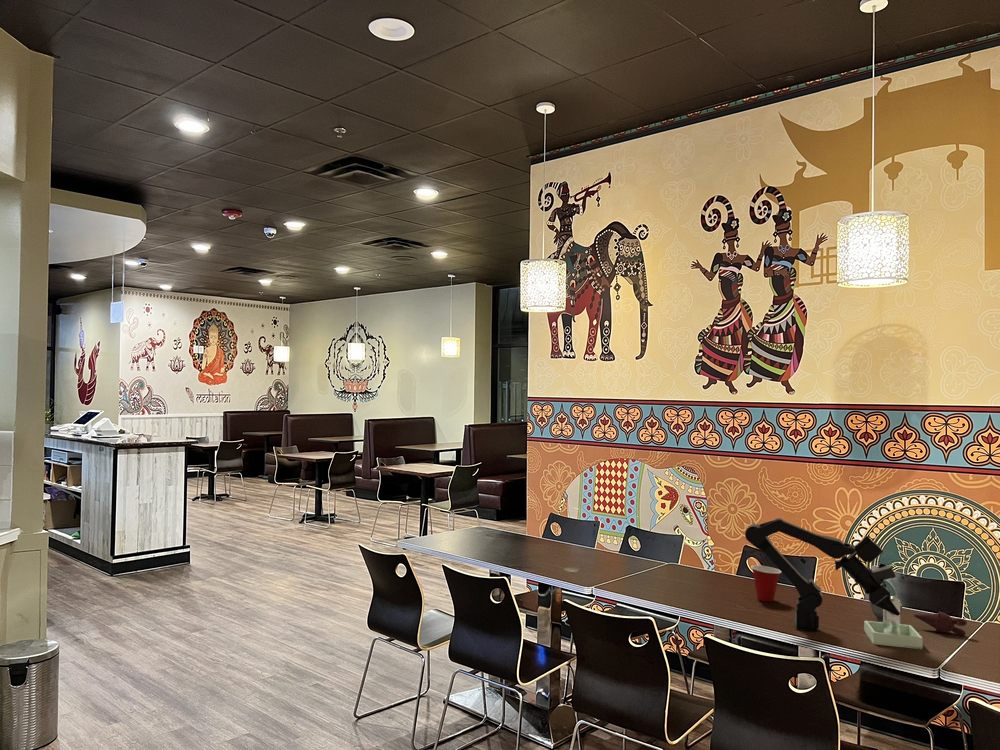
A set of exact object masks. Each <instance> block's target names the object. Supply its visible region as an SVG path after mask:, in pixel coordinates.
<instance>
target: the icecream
mask: <svg viewBox="0 0 1000 750" xmlns="http://www.w3.org/2000/svg"><path fill="white" fill-rule="evenodd" d="M913 617H915V618H917V619H918V620H919V621H921V622H924V623H925V624H926V625H928V626H930V627H932V628H934V629H935V632H936V633H937V632H940V633H943V634H944V633H949V632H952V633H954V634H956V635H958V636H961V637H963V636H966V631H965V630H964V629H962V628H960V627H963V626H966V625H967V621H966V619H964V618H953V617H952V616H950V615H949V614H947V613H945V612H942V611H938V612H937V613H935V612H934V613H918V614H914V616H913ZM955 625H956V626H958V627H956V626H955ZM959 626H960V627H959Z"/></svg>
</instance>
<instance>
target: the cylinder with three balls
mask: <svg viewBox="0 0 1000 750" xmlns="http://www.w3.org/2000/svg"><path fill="white" fill-rule="evenodd" d="M890 600H891V601H892V603H893V604H894V605H895V607H896V608H897V610H898V611H899V613H900V603H901V600H900V599H899V598H897V596H895V595H892V596H891V595H890ZM900 624H901V616H900V615H899V616H897V615H895V614H892V613H890V612H888V611H886V610H884V609H883V633H888V634H898V635H901V631H900Z"/></svg>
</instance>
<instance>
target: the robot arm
mask: <svg viewBox="0 0 1000 750" xmlns="http://www.w3.org/2000/svg"><path fill="white" fill-rule="evenodd" d="M778 532H779V533H781V534H782V533H783V534H785V535H787V536H790V537H792V538H794V539H796V540H799V541H801V542H803V543H806V544H809V545H811V546H814V548H816V549H818V550H819V551H821V552H822V553H824V554H825V555H827V556H829V557H831V558H832V559H837V560H834V564H835V566H834V569H835V570H836V571H838V570H839V569H840V568H842V569H843V570H844V571H845V572H846V573H847V574H848V575H849V576H850V577H851V579H852V580H854V582H855V584H856V585H859V587H860V588H862V590H863V591H864V592H865V594H866V595H867V599H868V601H869V602H870V604H871V603H872V604H873V605H875V606H878V607H880V608H882V609H884V610H886V611H888V612H890V613H892V614H895V615H897V616H899V615H900V613H899V611H898V610H897V608H896V607H895V605H894V604H893V603H892V601H891V600H890V597H891V592H890V590H889V589H888V588H887V583H886V582H885V580H889V579H894V578H896V577H897V576H896V573H895V571H894V570H893V569H894V568H893V567H892V566H891V565H890V564H885V563H884V562H881V563H878V564H877V565H878V568H875V569H873V570H872V568H870V567H867V566H866V565H865V564H864V563H868V562H869V563H870V564H871V563H872V562H873V561H875V560H876V559H877V558H878V557H880V556H881V555H882V554H883V553H884V549H882V548H881V547H880V546H879V545H878V544H877V542H876V541H873V539H872V538H870V537H869V536H868V535H865V536H864V537H863V538H861V540H860V541H859V542H857V543H856V544H855V545H854V544H851V543H846V542H843V541H842V540H841V539H840V538H837V537H834V536H833V537H832V536H829V535H824V534H823V535H821V534H818V533H816V532H813V531H810V530H808V529H805V528H803V527H800V526H798V525H796V524H793V523H791V522H789V521H786V520H784V519H783V518H780V517H778V518H777V517H776V518H775V519H773V520H769V521H767V522H764V523H760V524H757V523H752V524H750V525H748V526H747V527H746V529H745V532H744V535H745V539H746V540H747V542H748V543H750V544H751V545H753V546H754V547H755V549H758V550H760V551H761V552H763V553H764V554H765V555H766V557H768V559H769V560H770V561H771V562H772V563H773V564H774V565H775V566H776V567H777V569H778V570H780V571H781V574H783V575H784V576H785V577H786V579H787V580H789V581H790V583H792V585H794V587H795V589H796V591H797V592H798V595H799V597H797V598H796V606H795V616H794V619H795V620H794V621H795V622H794V626H795V629H796V630H798V631H799V630H800V631H806V632H807V631H809V632H819V628H820V627H819V625H820V616H819V614H818V610H817V608H818V607H821V605H822V604H823V593H822V591H821V586H819V585H818V584H817V583H816V582H815V581H814V579H813V578H811V577H810V579H809V580H808V579H806V578H805V577H804V576H802V575H801V573H800V572H799V571H798V570H797V568H795V567H794V565H792V563H790V561H789V560H787V558H786V556H784V555H783V554H782V553H781V552H780V550H779V549H777V547H776V546H774V544H773V543H772V541H771V540H770V537H769V536H771V535H774V534H777V533H778ZM838 559H839V560H838ZM860 559H861V560H860ZM863 562H864V563H863Z"/></svg>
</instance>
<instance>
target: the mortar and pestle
mask: <svg viewBox="0 0 1000 750" xmlns="http://www.w3.org/2000/svg"><path fill="white" fill-rule="evenodd" d="M870 607H871V608H870V609H871V611H872V613H873V615H874V616H875V617H876V622H883V609H882V608H880V607H878V606H875V605H873V604H872V603H871V602H870ZM902 613H903V604H902V603H901V602H900V617H901V615H902Z"/></svg>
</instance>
